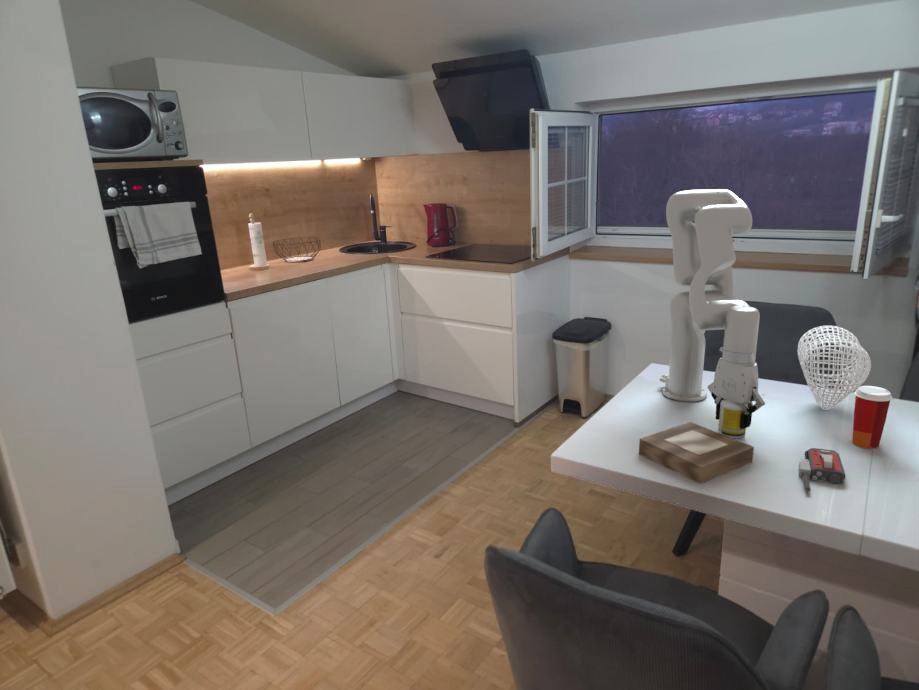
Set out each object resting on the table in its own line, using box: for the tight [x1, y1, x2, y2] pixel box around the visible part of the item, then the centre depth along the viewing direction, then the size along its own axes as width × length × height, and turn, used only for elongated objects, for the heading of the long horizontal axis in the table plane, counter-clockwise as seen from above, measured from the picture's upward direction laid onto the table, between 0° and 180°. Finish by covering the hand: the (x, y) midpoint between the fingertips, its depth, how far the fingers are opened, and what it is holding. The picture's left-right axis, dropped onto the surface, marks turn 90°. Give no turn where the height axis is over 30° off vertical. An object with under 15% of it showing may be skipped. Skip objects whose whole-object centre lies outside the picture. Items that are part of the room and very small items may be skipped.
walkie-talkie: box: [798, 447, 846, 492], centre depth 140 cm, size 9×4×20 cm
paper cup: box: [851, 385, 893, 450], centre depth 153 cm, size 8×8×14 cm
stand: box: [638, 421, 755, 484], centre depth 150 cm, size 18×18×4 cm
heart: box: [797, 324, 872, 411], centre depth 173 cm, size 28×16×22 cm, turn 158°
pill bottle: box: [717, 399, 748, 439], centre depth 161 cm, size 6×6×12 cm
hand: (732, 422), depth 162 cm, fingers closed on pill bottle, 6 cm apart
